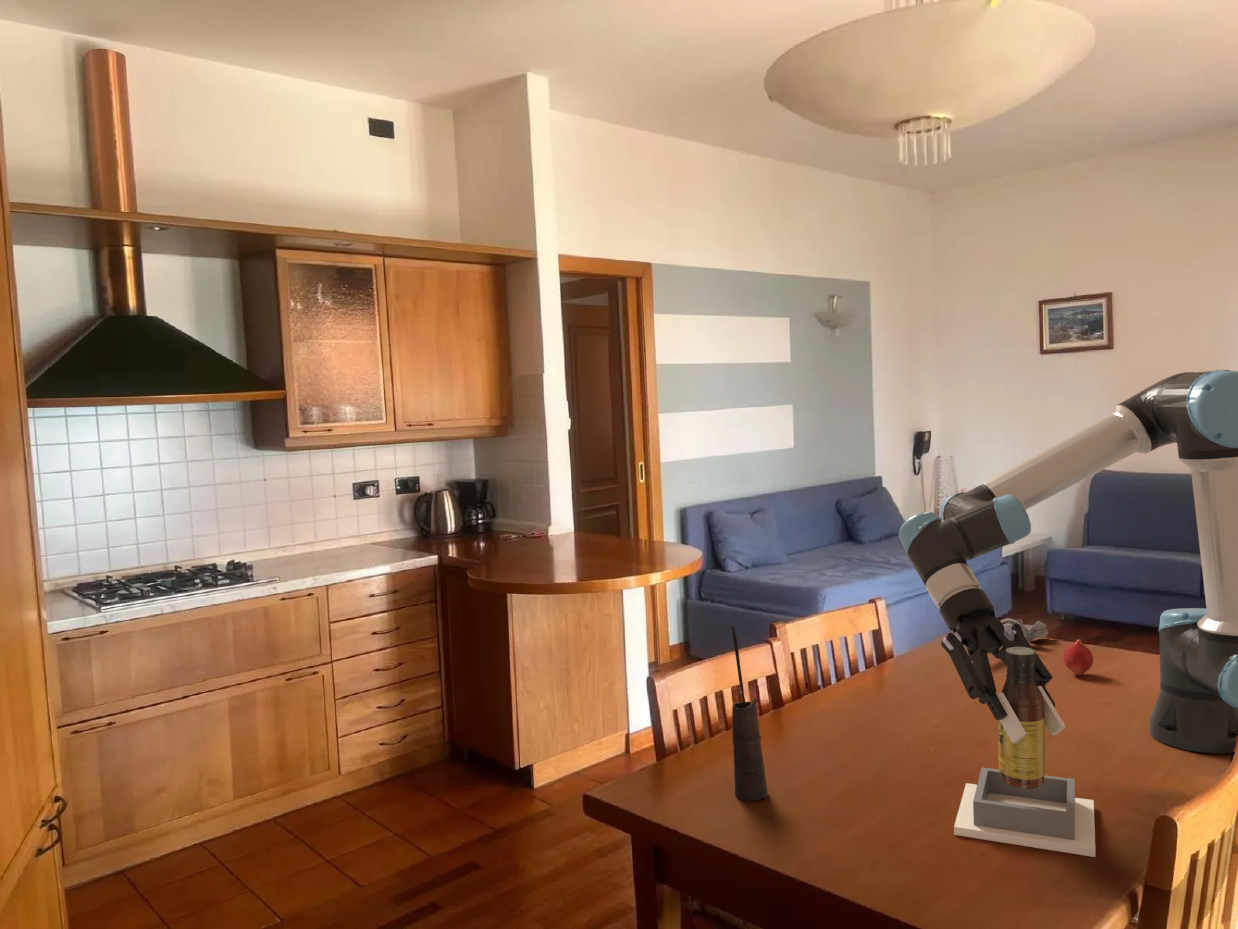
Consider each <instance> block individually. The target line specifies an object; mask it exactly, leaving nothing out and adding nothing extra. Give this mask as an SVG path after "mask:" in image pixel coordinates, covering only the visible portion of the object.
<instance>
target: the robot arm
mask: <svg viewBox="0 0 1238 929" xmlns="http://www.w3.org/2000/svg"><path fill="white" fill-rule="evenodd" d="M1171 444H1176V446H1177V453H1178V454H1177V455H1178V460H1179V461H1180V462H1182V463H1183V464H1184V465H1186V466H1187V467H1188V468H1189V469H1190V472H1191V481H1192V490H1193V498H1194V500H1193V502H1194V507H1195V516H1196V517H1195V518H1196V525H1197V526H1196V527H1197V534H1198V535H1197V537H1198V543H1199V545H1198V546H1199V552H1200V553H1199V554H1200V562H1201V563H1200V564H1201V570H1202V580H1203V581H1202V582H1203V589H1204V597H1205V605H1206V607H1205V608H1203V607H1201V608H1199V607H1194V608H1193V607H1189V608H1187V607H1184V608H1181V607H1180V608H1171V609H1167V610H1164V611H1163V612H1162V613H1161V614H1160V617H1159V626H1158V632H1159V637H1158V638H1159V679H1160V682H1159V684H1160V685H1159V686H1160V687H1159V688H1160V690H1159V694H1158V696H1157V698H1156V701H1155V705H1154V707H1153V708H1152V709H1153V710H1152V712H1151V715H1150V717H1149V721H1148V722H1149V724H1148V725H1149V734H1150V736H1151V737H1152V738H1154V739H1155V740H1156V741H1158V742H1160V743H1163V744H1165V745H1168V746H1170V747H1174V748H1176V749H1177V748H1178V749H1180V750H1185V751H1189V752H1196V753H1197V752H1198V753H1204V754H1218V755H1219V754H1220V755H1221V754H1223V755H1225V754H1234V753H1233V749H1234V747H1235V739H1236V736H1237V735H1238V371H1236V370H1230V369H1216V370H1207V371H1197V372H1196V371H1195V372H1194V371H1192V372H1189V371H1188V372H1180V373H1176V374H1173V375H1171V376H1168V377H1165V378H1163V379H1161V380H1159V381H1157V382H1155V383H1154V384H1152V385H1151V386H1148V387H1147V388H1144V389H1143V390H1141V391H1140V392H1138V393H1136V394H1134V395H1132V396H1131V397H1129V398H1127V399H1126V400H1123V401H1122V402H1120V403H1117V405H1115V406H1113V407H1112V412H1111V414H1110V415H1108V416H1106V417H1105V418H1103V419H1101V420H1099V421H1097V422H1095V423H1094V424H1091V425H1090V426H1088V427H1086V428H1084V429H1082V430H1081V431H1078V432H1077V433H1075V434H1072V435H1071V436H1068V438H1067V437H1066V438H1065V439H1063V440H1062V441H1060V442H1058V443H1056V444H1055V445H1052V446H1050V447H1049V448H1047V449H1045V450H1043V451H1041V452H1039V453H1037V454H1036V455H1034V456H1032V457H1030V458H1028V459H1026V460H1024V461H1022V462H1021V463H1019V464H1017V465H1016V466H1013V467H1011V468H1009V469H1007V470H1006V471H1004V472H1002V473H1000V474H998V475H997V476H995V477H993V478H991V479H988V481H986V482H983V483H981V484H980V485H978V486H975V487H974V488H972V489H970V490H968V491H966V492H958V493H953V494H951V495H949V496H947V497H946V498H945V499H944V500H943V502H942V503H941V505H940V508H939V515H938V513H935V512H934V511H925V512H924V513H923V512H919V513H916V514H914V515H913V516H911V517H909V518H907V520H905V521H904V522H903V524H902V525H900V527H899V531H898V538H899V540H900V543H901V545H902V546H903V548H904V550H905V552H906V555H907V558H908V559H909V561H910V562H911V564H912V566H913V567H914V569H915V571H916V572H917V574H918V576H919V577H920V579H921V581H922V583H923V585H924V587H925V589H926V590H927V592H928V594H929V596H930V597H931V599H932V601H933V604H934V605H935V607H936V608H937V609H939V614H940V615H941V617H942V619H943V621H944V622H945V624H946V626H947V628H948V630H949V631H951V632H948V634H947V635H945V637H944V638H943V639H942V641H941V642H940V645H941V647H942V648H943V649H944V650H945V651H946V652H947V654H948V655H949V657H950V659H951V661H952V663H953V665H954V667H955V668H954V669H956V671H957V674H958V675H959V676H958V677H959V678H960V680H961V683H962V684H963V687H964V689H965V690H966V691H965V692H966V693H967V695H968V698H970V699H972V700H977V699H978V702H979V703H980V704H981V705H985V704H986V705H987V706H988V708H989V710H990V712H991V714H992V716H993V718H994V719H995V720H996V721H998V720H1000V722H1001V723H1002V725H1003V727H1004V729H1005V731H1006V732H1007V734H1008V736H1009V738H1010V740H1011V741H1012V743H1017V742H1018V741H1019V740H1020V739H1022V738H1023V737H1024V736H1025V735H1026V732H1025V730H1024V728H1023V727H1022V725H1021V723H1020V721H1019V720H1018V718H1017V716H1016V714H1015V713H1014V711H1013V709H1012V707H1011V706H1010V704H1009V702H1008V700H1007V699H1006V697H1005V695H1004V693H1003V692H1002V691H1001V692H1002V693H1001V692H998V693H997V687H996V683H995V680H994V675H993V672H992V667H991V663H990V661H989V660H990V659H989V656H988V654H991V655H992V656H993V657H994V658H995V659H998V660H1001V662H1002V663H1003V664H1004V665H1005V667H1007V660H1006V658H1005V655H1006V649H1007V648H1011V647H1026V648H1030V649H1033V650H1035V649H1034V647H1032V645H1031V644H1029V643H1030V641H1029V642H1028V641H1027V639H1026V638H1025V637H1024V634H1023V631H1022V628H1021V626H1020V625H1019V624H1017V623H1015V624H1014V625H1013V626H1004V625H1003V624H1002V623H1001V622H1000V621H1001V620H999V619H998V618H997V617H996V614H995V607H994V605H993V603H992V602H991V600H990V599H989V597H988V595H987V594H986V592H985V591H984V589H982V584H980V582H979V580H978V578H977V577H976V576H975V574H974V572H973V571H972V569H971V567H970V565H969V564H968V561H971V560H973V559H975V558H978V557H981V556H983V555H985V554H988V553H990V552H994V551H996V550H998V549H1000V548H1003V547H1006V546H1009V545H1012V544H1015V543H1016V542H1017V541H1020V540H1021V539H1024V538H1025V537H1027V536H1029V535H1030V534H1031V531H1032V524H1031V520H1030V516H1029V515H1028V511H1026V510H1029V509H1030V508H1032V507H1035V506H1037V505H1038V504H1040V503H1042V502H1044V501H1046V500H1048V499H1049V498H1052V497H1053V496H1055V495H1057V494H1059V493H1060V492H1063V491H1065V490H1066V489H1068V488H1071V487H1073V486H1074V485H1076V484H1078V483H1080V482H1082V481H1083V480H1086V479H1089V478H1090V477H1093V475H1095V474H1098V473H1099V472H1101V471H1103V470H1105V469H1106V468H1109V467H1111V466H1112V465H1114V464H1117V463H1118V462H1121V461H1122V460H1124V459H1127V458H1128V457H1130V456H1132V455H1134V454H1135V453H1139V454H1144V455H1146V454H1149V453H1150V452H1152V451H1154V450H1156V449H1158V448H1161V447H1164V446H1166V445H1171ZM1004 635H1005V636H1004ZM1002 645H1003V647H1002V648H1000V647H1001V646H1002ZM965 647H966V648H965ZM1052 680H1053V676H1052V673H1050V671H1049V670H1048V668H1047V666H1046V665H1045V664H1044V662H1043V661H1042V660H1041V658H1040V657H1039V655H1038V654H1037V653H1036V661H1035V681H1034V682H1035V683H1036V685H1037V687H1038V688H1039V689H1040V691H1041V693H1042V696H1043V699H1044V714H1045V727H1046V730H1047V731H1048V732H1049V734H1050V736H1051V737H1052V736H1053V737H1054V736H1056V735H1058V734H1059V733H1060V732H1062V730H1063V729H1065V728H1066V727H1067V725H1066V724H1065V723H1064V720H1063V719H1062V717H1061V716H1060V714H1059V712H1058V711H1057V709H1056V708H1055V707H1057V706H1056V703H1055V700H1053V697H1052V695H1051V694H1050V693H1049V691H1048V689H1047V687H1046V686H1047V684H1049V683H1050V682H1051V681H1052Z"/></svg>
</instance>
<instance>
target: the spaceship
mask: <svg viewBox="0 0 1238 929" xmlns="http://www.w3.org/2000/svg"><path fill="white" fill-rule="evenodd" d="M999 621H1000V622H1001V623H1002V624H1003V625H1004V626H1013V625H1014V624H1015V623H1017V624H1019V625H1020V626H1021V628H1022V631H1023V634H1024V637H1025V638H1026V639H1027V641H1028V642H1029V644H1030V642H1031V641H1033V640H1035V639H1037V638H1038V637H1039V638H1043V639H1045V638H1046V637H1047V635H1048V634H1049V631H1048V629H1047V625H1046V624H1045V623H1044V622H1042V621H1039V620H1037V621H1036V622H1035V623H1034V624H1033V625H1032V624H1024V623H1023V620H1022V618H1020V619H1013V618H1004V619H1002V620H999ZM1004 636H1005V635H1004ZM1034 638H1035V639H1034ZM1030 645H1031V644H1030ZM1002 647H1003V645H1002V646H1001V647H1000V649H1001V648H1002Z"/></svg>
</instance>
